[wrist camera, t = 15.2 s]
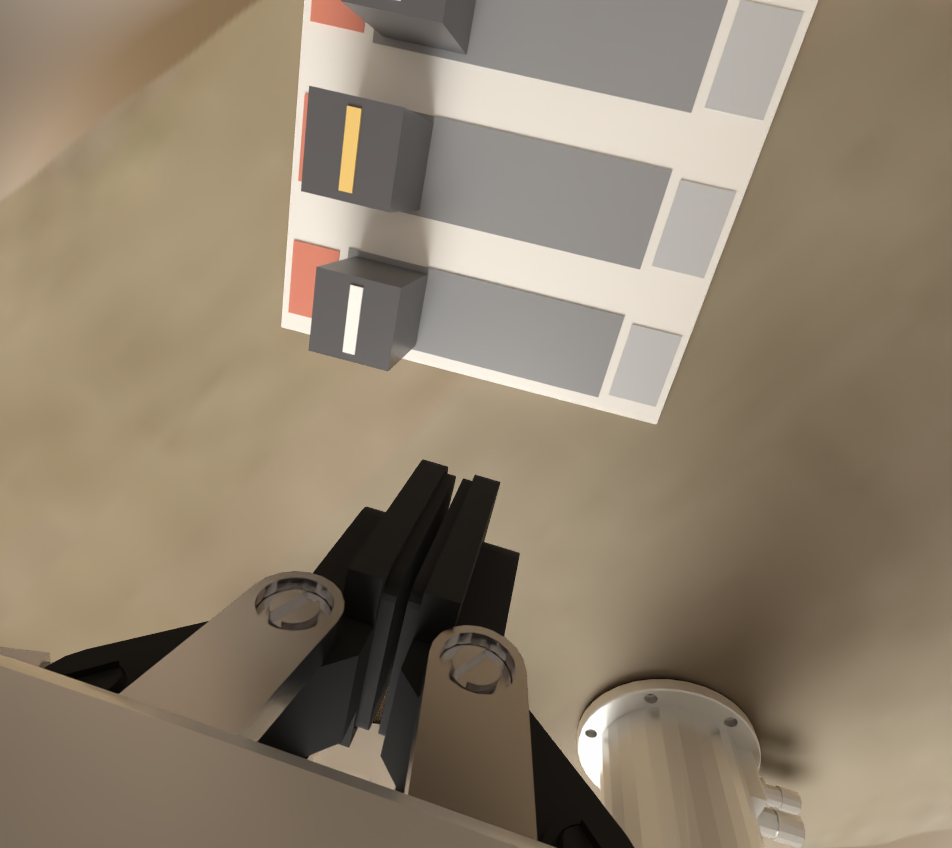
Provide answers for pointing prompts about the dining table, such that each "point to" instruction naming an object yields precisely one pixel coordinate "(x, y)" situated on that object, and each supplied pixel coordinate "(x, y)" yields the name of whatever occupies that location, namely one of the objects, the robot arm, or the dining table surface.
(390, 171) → the toggle
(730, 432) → the dining table surface
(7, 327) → the dining table surface
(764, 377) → the dining table surface
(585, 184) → the panel
